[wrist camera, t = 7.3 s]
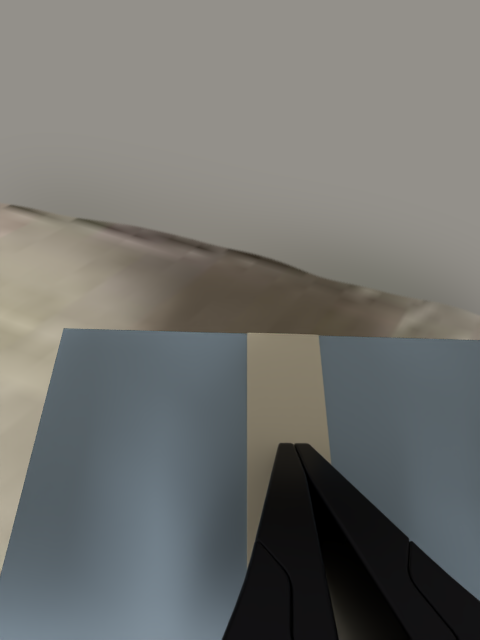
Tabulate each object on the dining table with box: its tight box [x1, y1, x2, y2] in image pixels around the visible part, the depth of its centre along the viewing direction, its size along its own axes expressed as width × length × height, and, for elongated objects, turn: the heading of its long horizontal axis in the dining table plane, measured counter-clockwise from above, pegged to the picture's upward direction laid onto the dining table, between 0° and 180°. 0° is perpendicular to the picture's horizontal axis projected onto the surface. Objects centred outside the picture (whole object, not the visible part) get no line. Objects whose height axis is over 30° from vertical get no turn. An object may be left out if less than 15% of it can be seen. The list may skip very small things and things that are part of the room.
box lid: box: [0, 328, 480, 640], centre depth 9 cm, size 10×14×1 cm
